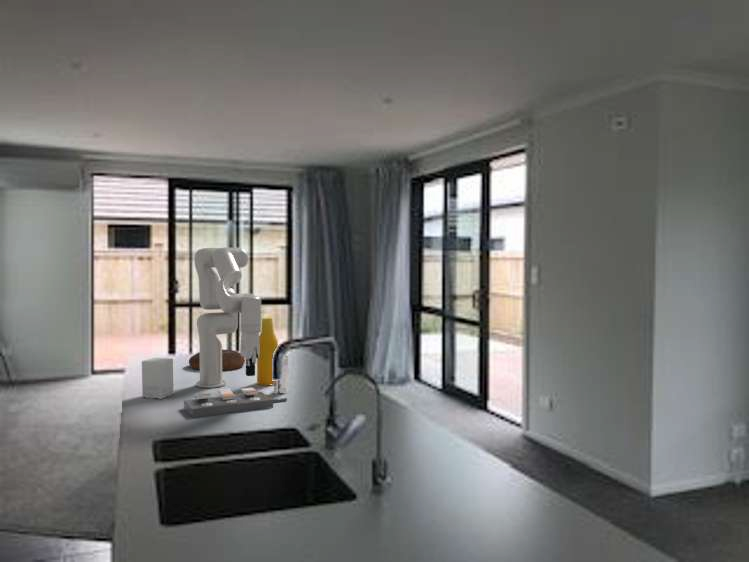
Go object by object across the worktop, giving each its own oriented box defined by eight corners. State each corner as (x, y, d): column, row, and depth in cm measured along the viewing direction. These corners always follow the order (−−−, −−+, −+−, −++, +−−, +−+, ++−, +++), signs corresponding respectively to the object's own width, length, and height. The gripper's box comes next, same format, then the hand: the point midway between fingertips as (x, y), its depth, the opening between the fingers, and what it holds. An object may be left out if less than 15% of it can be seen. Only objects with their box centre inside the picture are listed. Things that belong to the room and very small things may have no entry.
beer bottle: (280, 384, 275) (280, 319, 274) (259, 386, 272) (259, 319, 270) (275, 380, 284) (275, 316, 282) (255, 382, 281) (254, 317, 279)
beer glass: (285, 394, 257) (285, 358, 256) (269, 393, 258) (269, 357, 257) (291, 391, 264) (291, 355, 263) (275, 390, 265) (275, 355, 264)
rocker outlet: (194, 398, 236) (194, 395, 236) (206, 397, 238) (206, 393, 238) (198, 398, 230) (198, 394, 230) (210, 396, 232) (210, 393, 232)
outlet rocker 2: (241, 391, 244) (241, 387, 244) (252, 390, 247) (252, 386, 246) (246, 395, 238) (246, 391, 238) (257, 393, 240) (257, 390, 240)
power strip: (184, 408, 235) (183, 398, 234) (280, 397, 253) (280, 387, 253) (192, 417, 222) (192, 406, 222) (293, 404, 241) (293, 395, 241)
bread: (184, 364, 323) (184, 347, 323) (237, 360, 335) (237, 344, 335) (194, 374, 298) (194, 356, 297) (251, 369, 310) (251, 352, 309)
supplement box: (174, 394, 257) (173, 358, 256) (161, 399, 248) (160, 362, 247) (155, 392, 259) (154, 357, 258) (141, 397, 250) (141, 360, 250)
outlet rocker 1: (218, 391, 240) (218, 388, 240) (229, 390, 242) (229, 387, 242) (223, 399, 234) (223, 396, 234) (234, 398, 236) (235, 395, 236)
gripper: (235, 325, 244) (235, 372, 245) (247, 331, 231) (246, 380, 232) (254, 324, 247) (253, 370, 249) (266, 330, 234) (266, 378, 236)
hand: (250, 375), depth 241 cm, fingers closed
